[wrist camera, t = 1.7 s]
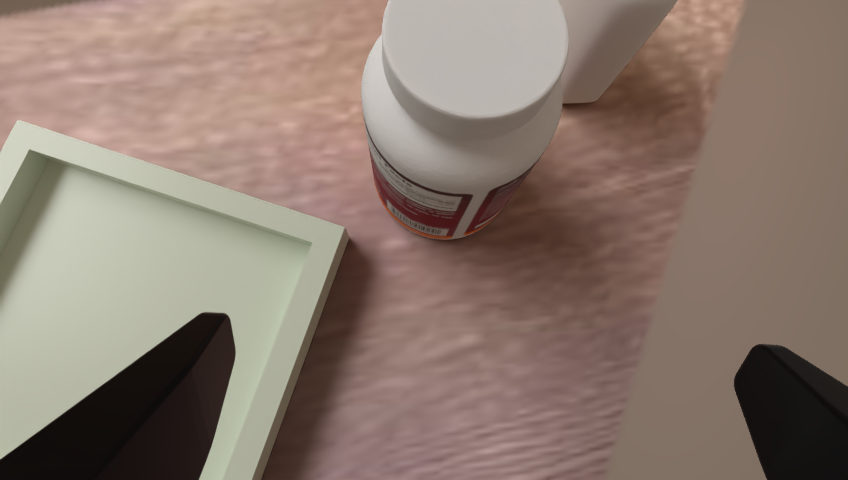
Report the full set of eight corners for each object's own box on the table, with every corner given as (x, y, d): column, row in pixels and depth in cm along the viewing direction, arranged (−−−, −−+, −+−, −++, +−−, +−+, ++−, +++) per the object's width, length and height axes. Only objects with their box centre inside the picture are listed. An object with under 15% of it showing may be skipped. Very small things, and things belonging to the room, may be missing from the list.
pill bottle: (488, 102, 24) (564, -97, 13) (524, 225, 23) (639, 119, 12) (359, 128, 23) (327, -57, 12) (390, 257, 22) (384, 175, 11)
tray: (226, 575, 19) (206, 602, 17) (-116, 460, 19) (-173, 473, 18) (349, 237, 22) (344, 227, 20) (50, 139, 22) (17, 119, 20)
